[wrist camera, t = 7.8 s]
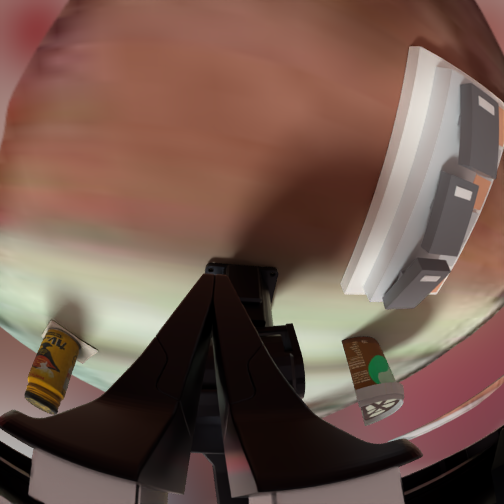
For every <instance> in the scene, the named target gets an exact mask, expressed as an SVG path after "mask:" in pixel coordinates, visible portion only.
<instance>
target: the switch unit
mask: <svg viewBox="0 0 504 504" xmlns="http://www.w3.org/2000/svg"><path fill="white" fill-rule="evenodd" d="M467 83H472V84H474V85H475V86H476V87H478V88H479V89H481V90H482V91H483V92H485V93H486V94H487V95H489V96H490V97H491V98H492V99H494V100H495V101H496V102H497V103H499V151H498V165H499V162H500V159H501V156H502V152H503V149H504V102H502V101H501V100H500V99H499V98H498V97H496V96H495V95H494V94H493V93H492V92H490V91H489V90H488V89H486V88H485V87H484V86H482V85H481V84H480V83H478V82H477V81H476V80H474V79H473V78H471V77H470V76H469V75H467V74H466V73H464V72H463V71H461V70H460V69H458V68H457V67H455V66H454V65H452V64H450V63H449V62H447V61H445V60H444V59H442V58H440V57H439V56H437V55H435V54H433V53H432V52H430V51H428V50H426V49H424V48H422V47H421V46H409V52H408V59H407V65H406V71H405V76H404V81H403V87H402V92H401V96H400V101H399V106H398V110H397V114H396V119H395V123H394V127H393V131H392V135H391V139H390V142H389V146H388V150H387V153H386V157H385V160H384V164H383V167H382V170H381V174H380V177H379V180H378V183H377V187H376V190H375V193H374V196H373V199H372V202H371V205H370V208H369V211H368V214H367V216H366V219H365V222H364V225H363V228H362V230H361V233H360V236H359V238H358V241H357V244H356V246H355V249H354V251H353V254H352V256H351V259H350V261H349V264H348V266H347V269H346V271H345V274H344V276H343V278H342V281H341V283H340V284H341V287H342V289H343V292H344V294H363V295H367V297H368V299H369V302H383V299H382V297H383V296H384V295H385V294H386V293H387V292H388V291H389V290H390V289H391V287H392V286H393V285H394V284H395V283H396V282H397V281H398V280H399V278H400V277H401V276H402V275H403V274H404V272H405V271H406V270H407V269H408V268H409V267H410V265H411V264H412V263H413V262H414V260H415V259H416V258H417V257H419V258H429V259H440V260H446V261H447V264H448V266H449V268H450V270H452V268H453V266H454V264H455V263H456V261H457V259H458V257H459V255H460V254H461V252H462V250H463V248H464V246H465V244H466V242H467V240H468V238H469V236H470V234H471V232H472V230H473V228H474V226H475V224H476V222H477V219H478V217H479V215H480V213H481V210H482V208H483V206H484V203H485V201H486V198H487V196H488V193H489V191H490V188H491V185H492V183H493V180H494V179H492V178H487V177H484V176H482V175H480V174H478V173H476V172H474V171H471V170H469V169H467V168H465V167H463V166H460V165H458V157H459V145H460V124H461V96H460V85H461V84H467ZM498 165H497V168H498ZM441 171H444V172H446V173H449V174H452V175H454V176H457V177H459V178H462V179H464V180H467V181H469V182H471V183H474V184H476V185H478V186H479V189H478V193H477V197H476V201H475V204H474V208H473V212H472V215H471V218H470V222H469V225H468V228H467V231H466V234H465V237H464V240H463V243H462V246H461V248H460V251H459V254H458V256H457V257H455V256H447V255H437V254H429V253H428V252H426V251H425V250H424V249H423V248H422V247H420V246H421V243H422V240H423V237H424V234H425V231H426V227H427V224H428V221H429V217H430V214H431V210H432V207H433V203H434V199H435V195H436V191H437V187H438V183H439V179H440V174H441ZM448 275H449V274H448ZM448 275H447V276H446V277H445V278H444V280H443V281H442V282H441V283H440V284H439V285H438V286H437V287H436V288H435V289H434V290H433V291H432V292H431V293H430V294H429V295H433V294H437V293H438V291H439V290H440V288H441V286H442V285H443V283H444V281H445V280H446V278H447V277H448Z"/></svg>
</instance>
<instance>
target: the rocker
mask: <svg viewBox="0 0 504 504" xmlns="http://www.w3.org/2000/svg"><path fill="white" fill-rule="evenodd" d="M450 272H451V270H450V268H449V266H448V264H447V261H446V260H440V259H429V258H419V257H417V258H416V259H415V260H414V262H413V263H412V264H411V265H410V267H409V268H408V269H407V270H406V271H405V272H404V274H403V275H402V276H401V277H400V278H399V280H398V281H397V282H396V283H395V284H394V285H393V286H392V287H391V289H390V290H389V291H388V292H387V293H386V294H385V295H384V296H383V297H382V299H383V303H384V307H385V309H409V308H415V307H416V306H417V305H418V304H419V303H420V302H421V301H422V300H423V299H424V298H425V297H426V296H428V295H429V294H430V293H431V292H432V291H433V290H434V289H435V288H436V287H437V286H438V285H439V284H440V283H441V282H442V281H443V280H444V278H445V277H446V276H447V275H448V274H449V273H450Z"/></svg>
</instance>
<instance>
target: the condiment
mask: <svg viewBox="0 0 504 504" xmlns="http://www.w3.org/2000/svg"><path fill="white" fill-rule="evenodd" d="M42 337H43V338H44V339H43V341H42V344H41V346H40V348H39V350H38V353H37V355H36V358H35V360H34V362H33V365H32V368H31V370H30V372H29V376H28V382H29V384H28V385H27V389H26V392H25V398H26V400H27V401H28V402H30V403H31V404H32V405H34V406H35V407H37V408H39V409H41V410H42V411H45V412H47V413H50V414H54V415H55V414H57V412H58V407H59V406H60V402H61V400H63V399H64V397H65V393H66V390H67V388H68V384H69V380H70V377H71V374H72V371H73V368H74V366H75V363H76V360H77V361H79V362H81V363H82V364H83V363H84V362H85V361H86V360H88V359H89V358H90V357H91V356H93V355H94V354H95V353H97V352H98V351H97V350H96V349H94V348H92V347H91V346H89V345H87V344H86V343H84V342H83V341H81V340H80V339H78V338H77V337H76V336H74V335H73V334H71V333H70V332H68V331H67V330H66V329H64V328H63V327H61V326H60V325H58V324H57V323H56V322H54V321H52V320H51V321H50V322H49V324H48V326H47V327H46V329H45V331H44V332H43V334H42ZM81 346H82V347H83V348H82V347H81Z"/></svg>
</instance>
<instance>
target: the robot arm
mask: <svg viewBox="0 0 504 504" xmlns="http://www.w3.org/2000/svg"><path fill="white" fill-rule="evenodd" d="M209 268H213V269H212V270H211V269H209ZM272 272H274V273H273V274H271V273H272ZM277 277H278V270H277V269H276V268H274V267H261V266H247V265H232V264H218V263H208V264H207V265H206V268H205V274H203V275H202V276H201V277H200V279H199V280H198V281H197V282H196V284H195V285H194V286H193V288H192V289H191V290H190V291H189V293H188V294H187V295H186V297H185V298H184V299H183V301H182V302H181V303H180V304H179V306H178V307H177V308H176V310H175V311H174V312H173V314H172V315H171V316H170V318H169V319H168V320H167V322H166V323H165V324H164V326H163V327H162V328H161V330H160V331H159V332H158V334H157V335H156V337H155V338H154V339H153V340H152V341H151V343H150V344H149V345H148V347H147V348H146V349H145V350H144V352H143V353H142V354H141V355H140V357H139V358H138V359H137V360H136V361H135V362H134V363H133V364H132V365H131V366H130V367H129V368H128V369H127V371H126V372H125V373H124V374H123V375H122V376H121V377H120V378H119V379H118V380H117V381H116V382H115V383H114V384H113V385H112V386H111V387H110V388H109V389H108V390H107V391H106V392H105V393H104V394H103V395H101V396H100V397H99V398H97V399H96V400H94V401H92V402H89V403H87V404H84V405H81V406H79V407H76V408H73V409H70V410H68V411H65V412H62V413H59V414H56V415H54V416H50V417H46V418H32V417H29V416H27V415H25V414H23V413H21V412H19V411H16V410H11V411H9V412H7V413H5V414H3V415H2V416H1V417H0V428H1V429H2V430H4V431H5V432H7V433H8V434H10V435H11V436H13V437H15V438H16V439H18V440H20V441H21V442H23V443H25V444H27V445H28V446H30V447H32V448H34V450H33V455H32V459H31V458H29V457H27V456H25V455H23V454H22V453H20V452H18V451H16V450H15V449H13V448H11V447H10V446H8V445H6V444H5V443H3V442H1V441H0V504H167V502H168V501H167V500H168V493H174V494H184V491H185V484H186V477H187V471H188V465H189V459H190V453H202V454H203V455H204V456H205V457H206V458H207V459H208V460H209V462H210V463H211V464H212V467H213V473H214V481H215V489H216V497H217V503H218V504H504V425H502V426H501V427H500V428H498V429H496V430H495V431H493V432H492V433H490V434H489V435H487V436H485V437H484V438H482V439H480V440H479V441H477V442H475V443H473V444H472V445H470V446H468V447H466V448H464V449H463V450H461V451H459V452H457V453H455V454H453V455H451V456H449V457H447V458H445V459H443V460H441V461H438V462H436V463H434V464H432V465H430V466H428V467H426V468H423V469H421V470H419V471H417V472H414V473H412V474H409V475H407V476H404V477H402V478H401V474H400V470H399V467H400V466H402V465H405V464H407V463H410V462H412V461H414V460H416V459H419V458H421V457H422V456H423V454H422V452H421V451H420V450H419V448H418V447H416V446H415V445H414V444H413V443H411V442H410V441H408V440H407V439H398V440H394V441H391V442H388V443H383V444H373V443H368V442H365V441H363V440H360V439H358V438H356V437H354V436H352V435H350V434H349V433H347V432H345V431H343V430H341V429H339V428H337V427H335V426H333V425H332V424H330V423H328V422H326V421H324V420H322V419H321V418H319V417H318V416H317V415H315V414H314V413H313V412H312V411H311V410H310V409H309V408H308V407H307V405H306V404H305V403H304V402H303V401H302V398H304V394H305V371H304V363H303V358H302V354H301V350H300V347H299V343H298V340H297V336H296V333H295V330H294V326H293V323H291V324H286V325H281V326H273V320H272V311H271V302H272V298H273V294H274V290H275V286H276V282H277Z"/></svg>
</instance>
